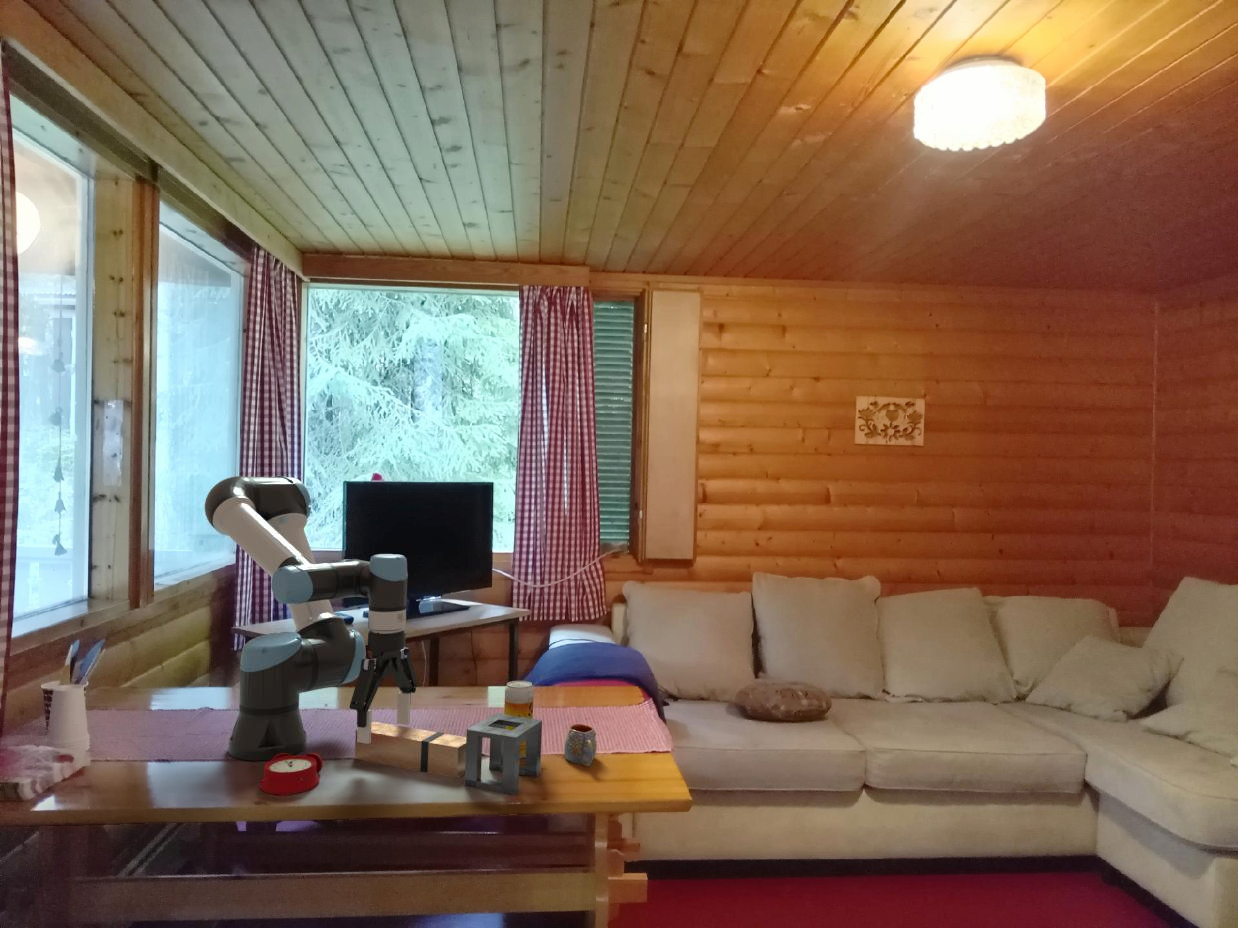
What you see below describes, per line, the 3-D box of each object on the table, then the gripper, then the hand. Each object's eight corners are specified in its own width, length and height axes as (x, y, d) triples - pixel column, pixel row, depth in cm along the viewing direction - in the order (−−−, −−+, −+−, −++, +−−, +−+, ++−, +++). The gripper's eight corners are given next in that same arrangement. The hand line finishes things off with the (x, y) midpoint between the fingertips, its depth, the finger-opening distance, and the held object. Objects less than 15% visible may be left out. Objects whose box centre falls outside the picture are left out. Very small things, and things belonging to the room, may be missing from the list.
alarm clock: (251, 778, 153) (273, 733, 168) (252, 809, 155) (274, 762, 169) (312, 778, 155) (328, 733, 169) (312, 808, 156) (328, 761, 171)
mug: (561, 753, 183) (562, 722, 183) (592, 751, 185) (593, 721, 184) (571, 774, 171) (572, 741, 171) (604, 772, 173) (605, 739, 173)
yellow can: (526, 760, 178) (528, 688, 178) (498, 757, 179) (501, 686, 179) (534, 750, 184) (537, 681, 184) (507, 747, 185) (510, 678, 185)
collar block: (464, 785, 163) (466, 729, 163) (493, 765, 174) (495, 712, 174) (513, 794, 159) (516, 737, 159) (540, 773, 170) (542, 720, 170)
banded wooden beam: (354, 758, 175) (355, 729, 175) (372, 749, 181) (373, 720, 181) (456, 778, 167) (458, 746, 167) (472, 767, 172) (473, 737, 172)
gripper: (365, 642, 163) (362, 753, 163) (435, 621, 186) (432, 718, 186) (332, 638, 165) (329, 748, 165) (406, 618, 189) (403, 714, 189)
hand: (384, 732), depth 176 cm, fingers open, 13 cm apart
